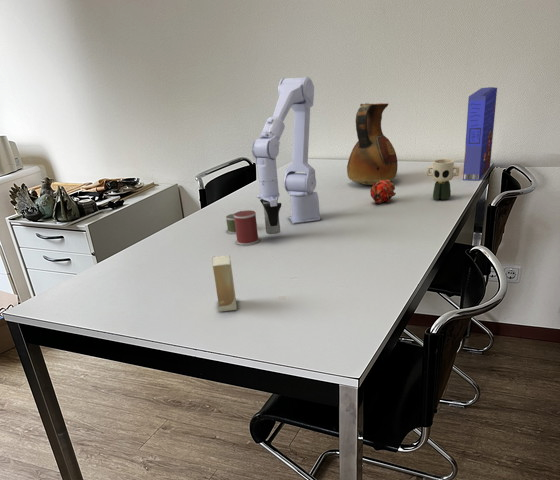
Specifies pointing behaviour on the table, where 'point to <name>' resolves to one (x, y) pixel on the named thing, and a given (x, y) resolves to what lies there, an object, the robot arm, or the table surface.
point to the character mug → (442, 177)
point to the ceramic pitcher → (371, 148)
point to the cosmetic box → (224, 283)
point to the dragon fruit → (382, 191)
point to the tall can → (246, 227)
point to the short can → (231, 223)
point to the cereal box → (479, 133)
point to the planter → (269, 228)
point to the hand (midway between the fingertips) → (272, 223)
